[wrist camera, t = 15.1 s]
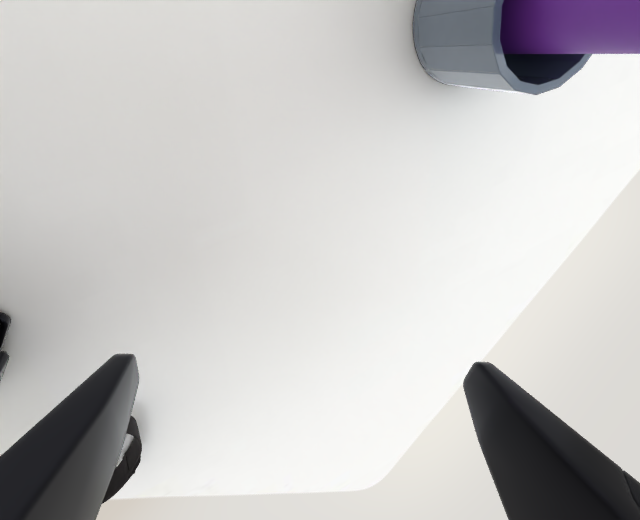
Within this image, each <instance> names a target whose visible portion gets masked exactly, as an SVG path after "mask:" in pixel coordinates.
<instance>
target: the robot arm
mask: <svg viewBox="0 0 640 520" xmlns="http://www.w3.org/2000/svg"><path fill="white" fill-rule="evenodd" d="M10 323H11V319H10V318H9V316H7V315H6V314H4V313H1V312H0V382H1V379H2V376H3V373H4V371H5V368H6V365H7V362H8V359H9V355H8V354H7V352H4V351H1V350H2V347H3V344H4V341H5V338H6V335H7V332H8V329H9V326H10ZM138 384H139V373H138V368H137V363H136V358H135V356H134V355H133V354H116V355H114V356H112V357H111V358H110V359H109V360H108V361H107V362H106V363H104V364H103V365H102V366H101V367H100V368H99V369H98V370H97V371H95V372H94V373H93V374H92V375H91V376H90V377H89V378H88V379H87V380H85V381H84V382H83V383H82V384H81V385H80V386H79V387H78V388H76V389H75V390H74V391H73V392H72V393H71V394H70V395H69V396H67V397H66V398H65V399H64V400H63V401H62V402H61V403H60V404H59V405H57V406H56V407H55V408H54V409H53V410H52V411H51V412H50V413H48V414H47V415H46V416H45V417H44V418H43V419H42V420H41V421H39V422H38V423H37V424H36V425H35V426H34V427H33V428H32V429H31V430H29V431H28V432H27V433H26V434H25V435H24V436H23V437H22V438H20V439H19V440H18V441H17V442H16V443H15V444H14V445H13V446H11V447H10V448H9V449H8V450H7V451H6V452H5V453H4V454H3V455H1V456H0V520H96V517H97V515H98V512H99V509H100V506H101V504H102V501H103V499H104V496H105V493H106V491H107V488H108V485H109V483H110V480H111V477H112V475H113V472H114V469H115V467H116V464H117V461H118V459H119V456H120V453H121V450H122V447H123V443H124V439H125V436H126V432H127V428H128V424H129V420H130V416H131V412H132V408H133V404H134V400H135V396H136V392H137V388H138ZM463 387H464V391H465V395H466V398H467V402H468V405H469V409H470V413H471V417H472V420H473V424H474V427H475V431H476V434H477V437H478V441H479V443H480V446H481V449H482V452H483V454H484V457H485V460H486V462H487V465H488V467H489V470H490V473H491V475H492V478H493V480H494V483H495V485H496V488H497V491H498V493H499V496H500V499H501V501H502V504H503V506H504V509H505V512H506V514H507V517H508V519H509V520H640V483H639V482H638V481H637V480H635V479H634V478H633V477H632V476H630V475H629V474H628V473H627V472H625V471H622V469H621V468H620V467H619V466H618V465H617V464H615V463H614V462H613V461H612V460H610V459H609V458H608V457H607V456H605V455H604V454H603V453H602V452H601V451H599V450H598V449H597V448H595V447H594V446H593V445H592V444H591V443H589V442H588V441H587V440H586V439H584V438H583V437H582V436H581V435H579V434H578V433H577V432H576V431H574V430H573V429H572V428H571V427H569V426H568V425H567V424H566V423H565V422H563V421H562V420H561V419H560V418H558V417H557V416H556V415H555V414H553V413H552V412H551V411H550V410H548V409H547V408H546V407H545V406H544V405H542V404H541V403H540V402H539V401H537V400H536V399H535V398H534V397H532V396H531V395H530V394H529V393H527V392H526V391H525V390H524V389H522V388H521V387H520V386H519V385H517V384H516V383H515V382H514V381H513V380H511V379H510V378H509V377H508V376H506V375H505V374H504V373H503V372H501V371H500V370H499V369H497V368H496V367H495V366H494V365H493V364H491V363H489V362H475V363H474V364H473V365H472V367H471V369H470V370H469V372H468V374H467V375H466V377H465V379H464V382H463Z"/></svg>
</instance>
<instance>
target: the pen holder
mask: <svg viewBox="0 0 640 520" xmlns="http://www.w3.org/2000/svg"><path fill="white" fill-rule="evenodd" d="M503 2H504V0H417V2H416V6H415V11H414V20H413V35H414V43H415V48H416V52H417V55H418V58H419V60H420V62H421V64H422V66H423V67H424V69H425V70H426V72H427V73H428V74H429V75H430V76H431V77H432V78H434V79H435V80H437V81H439V82H440V83H443V84H447V85H454V86H459V87H466V88H475V89H484V90H493V91H502V92H511V93H520V94H529V95H538V94H541V93H544V92H547V91H550V90H553V89H556V88H558V87H560V86H561V85H562V84H564V83H565V82H566V81H567V80H569V79H570V78H571V77H572V76H573V75H575V74H576V73H577V72H578V71H579V70H581V68H583V66H584V65H585V64H586V62H587V61H588V59H589V58H590V57H591V55H592V54H504V53H503V49H502V45H501V42H500V32H501V15H502V5H503Z"/></svg>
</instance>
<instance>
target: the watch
mask: <svg viewBox="0 0 640 520" xmlns="http://www.w3.org/2000/svg"><path fill="white" fill-rule="evenodd" d="M126 433H127V434H131V435H133V436H134V439H133V441H132V443H131V445H130V448H129V449H128V450H127V452H126V453H125V455H124V456H123V460H122V461H121V463H120V464H119V465H118V466H117V467H116V468H115V469H114V472H113V475H112V477H111V480H110V483H109V485H108V488H107V491H106V493H105V496H104V499H103V501H102V503H104V502H106V501H107V500H108V499H110V498H111V497H112V496H114V495H115V494H116V493H117V492H118V491H119V490H120V489H121V488H122V487H123V486H124V484H125V483H126V482H127V481H128V480H129V479H130V477H131V476H132V475H133V474H134V473H135V470H136V468H137V467H138V465H139V463H140V458H141V456H140V455H141V451H142V444H141V440H140V435H139V430H138V426H137V422H136V420H135V419H134V418H133V417H132V416H130V420H129V424H128V428H127V432H126Z"/></svg>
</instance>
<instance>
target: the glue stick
mask: <svg viewBox="0 0 640 520" xmlns="http://www.w3.org/2000/svg"><path fill="white" fill-rule="evenodd" d="M500 42H501V45H502V49H503V53H504V54H640V0H504V2H503V5H502V15H501V32H500Z"/></svg>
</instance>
